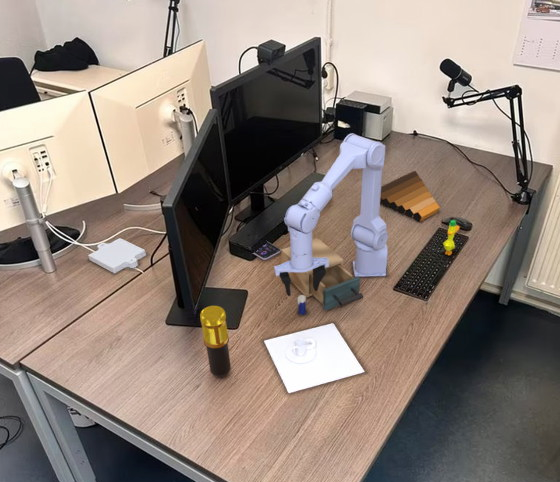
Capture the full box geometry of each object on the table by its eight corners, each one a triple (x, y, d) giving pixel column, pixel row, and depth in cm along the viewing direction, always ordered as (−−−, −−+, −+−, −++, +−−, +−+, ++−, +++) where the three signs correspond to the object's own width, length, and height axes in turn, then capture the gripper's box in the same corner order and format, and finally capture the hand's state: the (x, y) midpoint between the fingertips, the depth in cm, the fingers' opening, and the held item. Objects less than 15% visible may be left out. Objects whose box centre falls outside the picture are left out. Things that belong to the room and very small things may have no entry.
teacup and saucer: (312, 339, 148) (312, 328, 145) (323, 359, 142) (324, 347, 139) (281, 347, 146) (280, 336, 143) (291, 367, 140) (291, 356, 137)
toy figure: (448, 246, 180) (454, 213, 172) (458, 250, 178) (465, 217, 171) (438, 255, 176) (444, 222, 169) (448, 259, 174) (454, 226, 167)
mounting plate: (151, 257, 181) (150, 252, 180) (119, 276, 174) (118, 271, 172) (116, 240, 190) (115, 235, 189) (84, 257, 183) (83, 252, 181)
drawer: (368, 306, 156) (370, 287, 152) (335, 320, 152) (335, 300, 148) (332, 274, 169) (333, 255, 164) (300, 286, 165) (300, 267, 160)
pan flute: (410, 177, 220) (367, 198, 207) (411, 169, 217) (367, 189, 205) (464, 198, 204) (421, 222, 192) (465, 190, 202) (422, 213, 190)
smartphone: (252, 233, 190) (282, 250, 181) (252, 234, 190) (282, 251, 181) (235, 241, 186) (264, 259, 177) (235, 243, 186) (264, 260, 177)
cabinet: (342, 283, 166) (343, 259, 161) (306, 297, 162) (306, 273, 156) (316, 260, 176) (316, 237, 171) (282, 272, 172) (281, 249, 166)
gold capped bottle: (185, 395, 134) (172, 332, 121) (219, 362, 142) (210, 301, 130) (203, 405, 131) (192, 342, 119) (237, 371, 139) (230, 309, 127)
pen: (307, 313, 156) (307, 297, 153) (300, 316, 155) (299, 300, 152) (303, 309, 158) (303, 293, 154) (296, 312, 157) (296, 296, 153)
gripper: (323, 237, 148) (322, 278, 156) (270, 245, 145) (272, 287, 154) (331, 250, 142) (330, 293, 151) (277, 260, 140) (279, 302, 148)
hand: (301, 291), depth 152 cm, fingers open, 7 cm apart
